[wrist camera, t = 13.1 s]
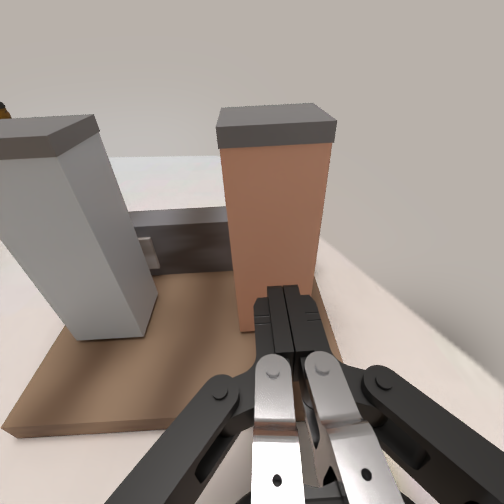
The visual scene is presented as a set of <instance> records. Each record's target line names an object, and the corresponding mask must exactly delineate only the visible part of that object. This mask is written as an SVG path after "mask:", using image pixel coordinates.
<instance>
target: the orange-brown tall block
mask: <svg viewBox="0 0 504 504" xmlns="http://www.w3.org/2000/svg"><path fill="white" fill-rule="evenodd" d="M336 125H337V120H336V119H334V118H333V117H331V116H330V115H329V114H327V113H326V112H325V111H323V110H322V109H320V108H319V107H318V106H317V105H315V104H313V103H303V104H285V105H284V104H283V105H267V106H266V105H264V106H245V107H227V108H221V111H220V115H219V118H218V121H217V125H216V133H217V142H218V149H220V156H221V165H222V174H223V183H224V192H225V201H226V210H227V219H228V228H229V237H230V246H231V255H232V264H233V273H234V281H235V290H236V299H237V308H238V317H239V326H240V332H246V331H255V326H254V309H253V306H254V304H255V301H256V299H257V298H262V297H267V286H282V285H296V284H297V285H298V287H299V291H300V295H310V296H311V293H312V286H313V279H314V272H315V264H316V257H317V250H318V243H319V236H320V228H321V220H322V214H323V206H324V199H325V192H326V184H327V177H328V170H329V163H330V156H331V148H332V143H334V139H335V131H336Z"/></svg>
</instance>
